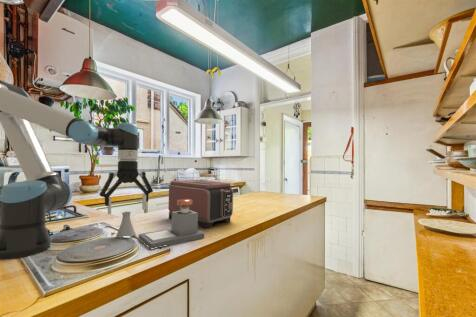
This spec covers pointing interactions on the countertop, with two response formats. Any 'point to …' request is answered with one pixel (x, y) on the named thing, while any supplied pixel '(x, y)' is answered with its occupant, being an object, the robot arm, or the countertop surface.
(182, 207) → the copper ovoid
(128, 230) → the flask
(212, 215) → the toaster
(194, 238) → the press
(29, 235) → the robot arm
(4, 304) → the countertop surface
